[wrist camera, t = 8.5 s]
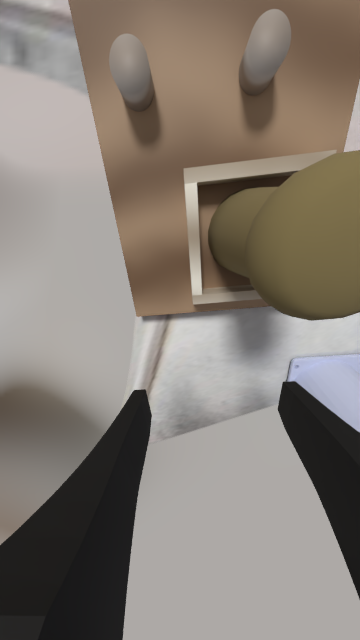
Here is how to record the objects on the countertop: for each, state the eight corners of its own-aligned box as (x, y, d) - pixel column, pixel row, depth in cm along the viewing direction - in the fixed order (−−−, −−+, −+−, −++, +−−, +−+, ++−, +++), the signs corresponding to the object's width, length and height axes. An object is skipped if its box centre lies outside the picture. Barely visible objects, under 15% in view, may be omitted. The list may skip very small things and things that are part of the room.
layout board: (302, 298, 19) (323, 312, 16) (139, 311, 20) (131, 326, 17) (378, -77, 10) (460, -203, 7) (70, -20, 11) (29, -109, 8)
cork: (274, 274, 16) (408, 352, 7) (203, 270, 16) (232, 342, 7) (297, 190, 14) (585, 107, 4) (212, 184, 14) (287, 87, 4)
